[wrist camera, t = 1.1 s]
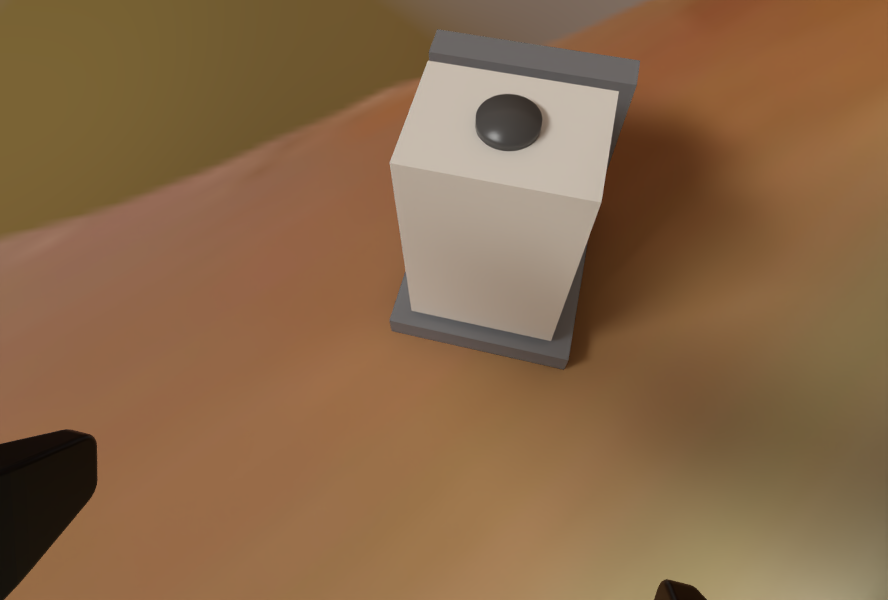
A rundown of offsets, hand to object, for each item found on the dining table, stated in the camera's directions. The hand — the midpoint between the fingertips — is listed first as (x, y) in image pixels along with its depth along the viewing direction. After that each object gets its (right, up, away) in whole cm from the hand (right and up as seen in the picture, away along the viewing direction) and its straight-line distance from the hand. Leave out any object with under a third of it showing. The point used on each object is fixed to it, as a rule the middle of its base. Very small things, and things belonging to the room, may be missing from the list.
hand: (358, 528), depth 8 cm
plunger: (+3, +4, +15) cm, 16 cm away
